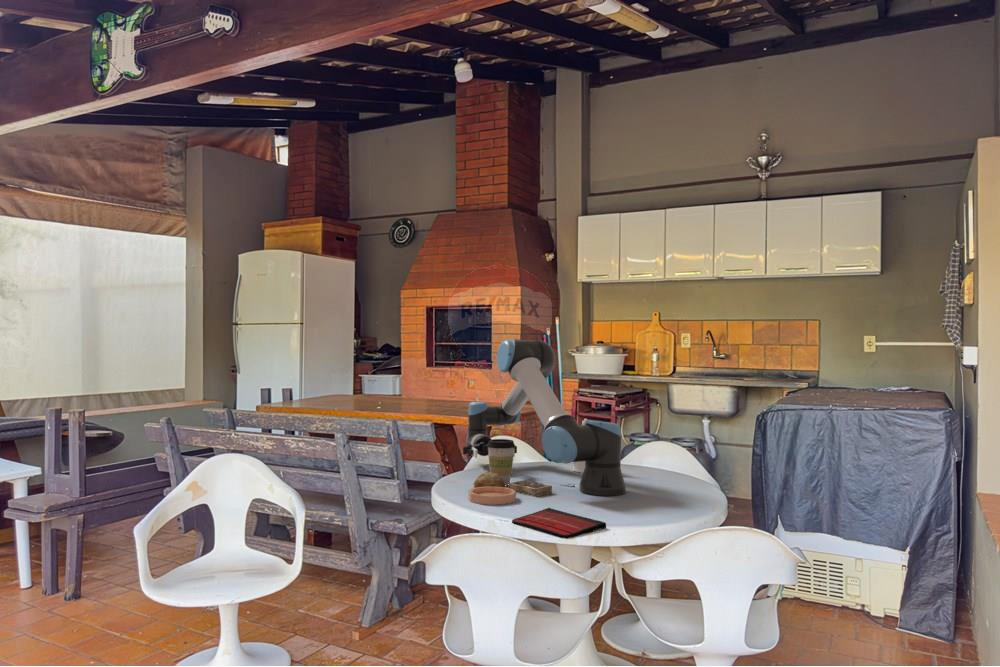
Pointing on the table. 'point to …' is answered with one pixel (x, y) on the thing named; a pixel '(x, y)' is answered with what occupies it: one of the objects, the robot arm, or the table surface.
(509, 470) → the coffee cup
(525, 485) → the pebble tray
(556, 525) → the binder
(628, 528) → the table surface
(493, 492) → the dish
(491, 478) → the bread roll
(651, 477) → the table surface
